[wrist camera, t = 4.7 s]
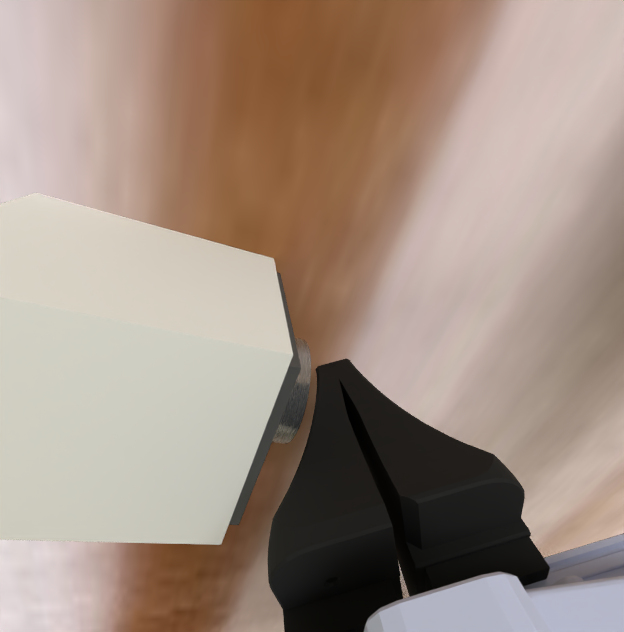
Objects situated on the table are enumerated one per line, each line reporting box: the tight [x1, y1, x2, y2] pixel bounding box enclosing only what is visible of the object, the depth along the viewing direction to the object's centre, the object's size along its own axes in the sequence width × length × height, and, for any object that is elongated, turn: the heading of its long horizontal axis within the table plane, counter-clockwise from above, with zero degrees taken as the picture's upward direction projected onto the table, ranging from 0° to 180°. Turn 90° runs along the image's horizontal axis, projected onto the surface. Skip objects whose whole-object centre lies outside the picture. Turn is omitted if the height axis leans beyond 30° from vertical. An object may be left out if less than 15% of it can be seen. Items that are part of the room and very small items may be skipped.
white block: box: [0, 193, 301, 545], centre depth 10 cm, size 8×7×6 cm
